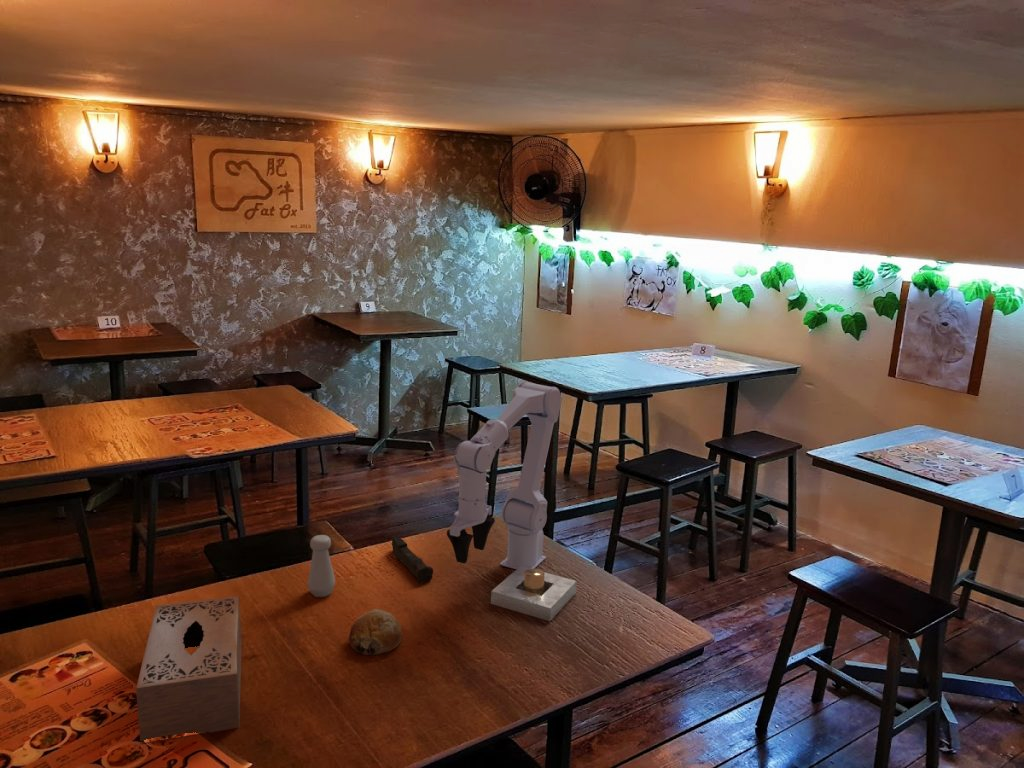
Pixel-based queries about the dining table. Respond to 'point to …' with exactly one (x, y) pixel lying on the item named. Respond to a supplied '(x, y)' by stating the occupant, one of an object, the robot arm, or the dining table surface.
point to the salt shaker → (321, 567)
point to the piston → (534, 581)
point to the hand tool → (411, 560)
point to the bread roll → (375, 633)
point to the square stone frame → (534, 595)
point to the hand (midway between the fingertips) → (470, 555)
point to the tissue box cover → (191, 669)
